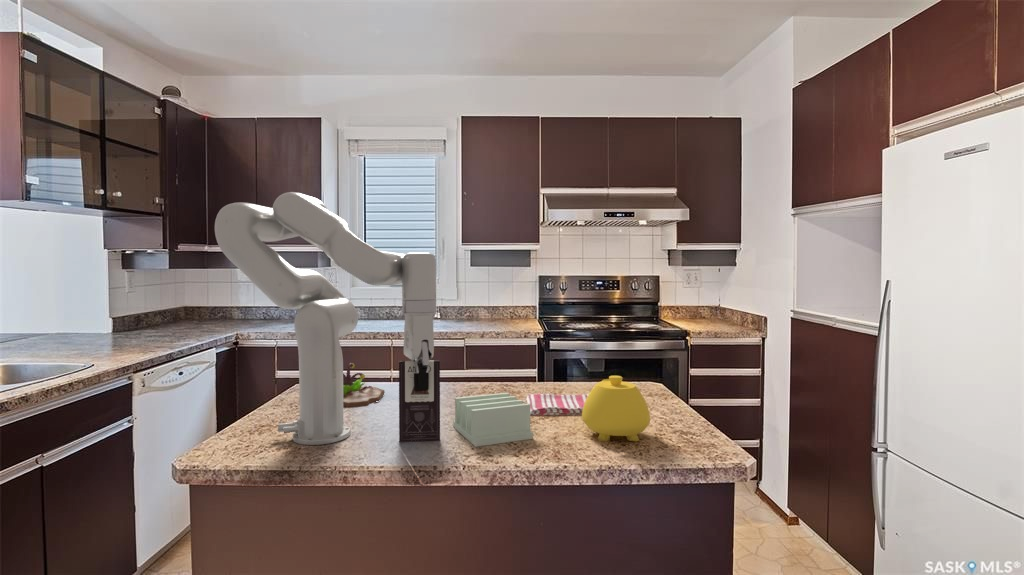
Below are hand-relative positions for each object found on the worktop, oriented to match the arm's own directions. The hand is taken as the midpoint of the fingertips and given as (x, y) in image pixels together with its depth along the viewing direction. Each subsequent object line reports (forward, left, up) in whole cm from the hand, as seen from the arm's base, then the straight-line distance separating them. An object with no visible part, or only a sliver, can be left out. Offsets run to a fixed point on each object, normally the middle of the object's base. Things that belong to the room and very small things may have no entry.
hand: (419, 388), depth 115 cm
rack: (+17, -1, -12) cm, 21 cm away
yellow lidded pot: (+44, -12, -12) cm, 47 cm away
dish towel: (+45, +12, -12) cm, 48 cm away
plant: (-11, +45, -12) cm, 48 cm away
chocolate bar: (0, 0, -12) cm, 12 cm away
